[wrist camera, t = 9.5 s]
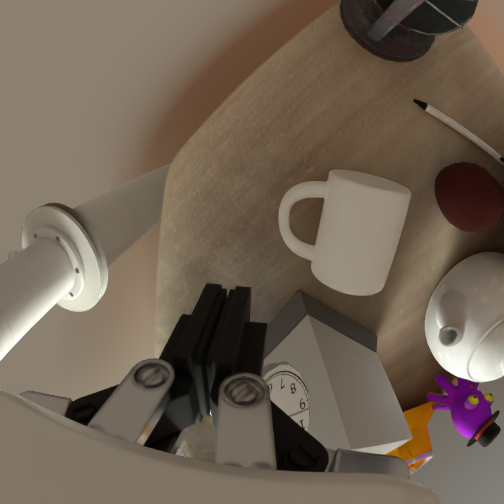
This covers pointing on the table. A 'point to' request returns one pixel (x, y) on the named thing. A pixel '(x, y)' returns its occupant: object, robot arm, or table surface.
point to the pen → (460, 129)
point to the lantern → (403, 24)
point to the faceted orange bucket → (416, 438)
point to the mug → (350, 229)
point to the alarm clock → (332, 379)
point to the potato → (469, 197)
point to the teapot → (469, 318)
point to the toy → (467, 409)
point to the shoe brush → (200, 440)
